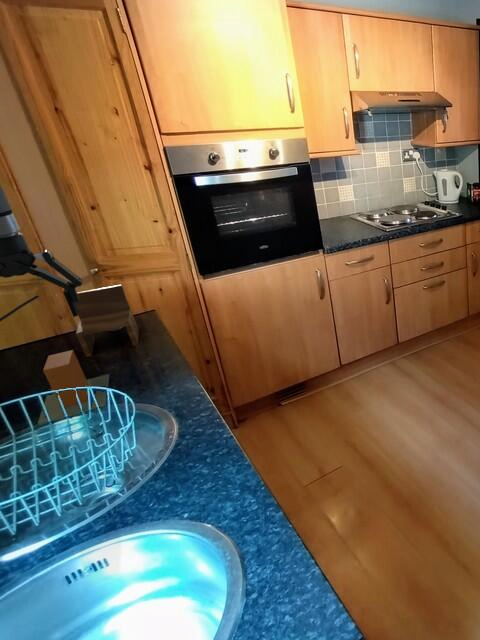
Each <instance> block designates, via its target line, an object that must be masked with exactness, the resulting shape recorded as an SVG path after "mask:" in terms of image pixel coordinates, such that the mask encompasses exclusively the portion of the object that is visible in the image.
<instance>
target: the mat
mask: <svg viewBox="0 0 480 640" xmlns="http://www.w3.org/2000/svg"><path fill="white" fill-rule="evenodd" d="M86 380H87V382H88V384H89V386H106V387H108V388H109V381H110V374H103V375H100V376H97V377H92V378H88V379H86ZM49 390H52V388H50V389H49ZM95 398H96V399H97V401H98V403H99V406H100V408H103V407H106V405H107V398H106V393H105V392H102V391H96V394H95ZM44 404H45V406H46V409H47V411H48V414H49V416H50V418H51V420H52V421H53V422H56V421H59V420H63V419H65V418H64V414H63V411H62V409H61V407H60V404H59V402H58V400H57V398H56V396H55V394H52V395H47V394H46V397H45V399H44V403H43V405H44ZM81 404H82V411H83V413H86V412H89V411H88V395H87V400H86V402H83V403H81ZM65 408H66V411H67V414H68V416H69V417H73V416H76V415H79V414H81V413H80V412H81V411H80V409H79V406H78V404H76V405H72V406H69V407H65ZM91 409H92V410H91V411H93V410H97V409H98V408H97V407H96V404H95V402H93V403H92V407H91ZM69 417H68V418H69ZM46 424H48V423H47V419H46V418H45V415H44V412H43V411H42V410H41V412H40V416H39V419H38V421H37V425H38V426H42V425H46Z"/></svg>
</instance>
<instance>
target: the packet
mask: <svg viewBox="0 0 480 640" xmlns="http://www.w3.org/2000/svg"><path fill="white" fill-rule="evenodd" d="M42 372H43V374H44V376H45V377H46V379H47V382H48V384H49V386H50V389H52V390H59V389H66V388H76V387H85V386H89V384H88V382H87V380H88V379H87V378H86V376H85V373H84V371H83V369H82V367H81V364H80V363H79V360H78V358H77V356H76V354H75V351H74V349H71V350H66V351H63V352H57V353H55V354H50V355H48V356H47V359H46V362H45V364H44V367H43V369H42ZM54 394H55V396H56V398H57V400H58V395H59V396H60V398H61V400H62V402H63V404H64V407H69V406H72V405H76V404H78V403H77V399H76V391H75V390H69V391H62V392H60V393H59V394H58V393H54ZM77 394H78V397H79V399H80V401H81V403H83V402H86V400H87V391H86V390H78V391H77ZM58 402H59V400H58ZM59 404H60V403H59Z"/></svg>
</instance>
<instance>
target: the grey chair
mask: <svg viewBox="0 0 480 640" xmlns="http://www.w3.org/2000/svg"><path fill="white" fill-rule="evenodd" d="M76 292H77V294H78V296H79V300H78V302H75V304H76V306H77V309H78V311H79V313H78V316H77V317H78V318H79V320H78V325H77V328H76V331H75V335H76V337H77V340H78V342H79V343H80V346H81V349H82V351H83V353H84V355H85V357H86V358H89V357H92V355H93V351H94V346H95V342H96V338H95V335H94V334H97V333H101V332H107V330H110V329H115V328H119V327H122V328H124V327H125V329H126V331H127V335H128V336H129V340H130V342H131V344H132V346H133V347H135V346H138V345H139V326H138V323H137V322H136V319H135V317H134V314H133V311H132V309H131V305H130V303H129V301H128V298H127V295H126V292H125V289H124V287H123V285H122V284H121V283H120V284H116V285H111V286H105V287H100V288H99V287H98V288H94V289H88V290H83V291H82V290H81V291H76Z"/></svg>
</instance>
